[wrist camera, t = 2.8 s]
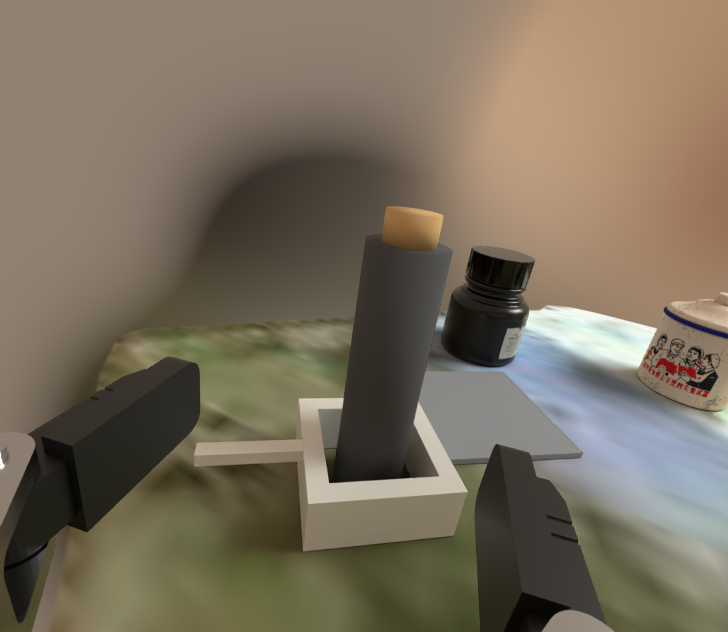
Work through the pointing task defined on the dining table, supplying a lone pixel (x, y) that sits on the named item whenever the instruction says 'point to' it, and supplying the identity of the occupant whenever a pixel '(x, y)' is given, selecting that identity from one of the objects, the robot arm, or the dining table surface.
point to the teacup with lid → (690, 354)
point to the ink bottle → (489, 307)
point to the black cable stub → (390, 343)
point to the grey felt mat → (488, 418)
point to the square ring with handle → (356, 483)
